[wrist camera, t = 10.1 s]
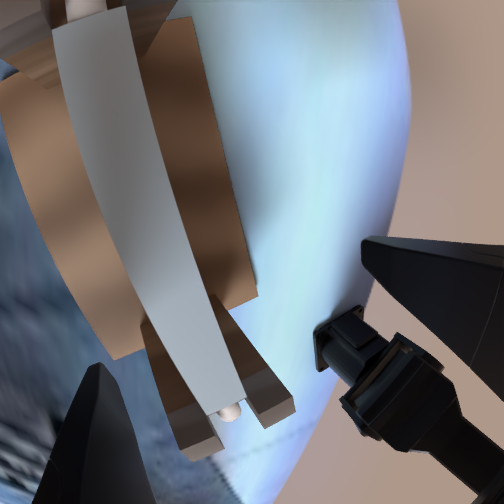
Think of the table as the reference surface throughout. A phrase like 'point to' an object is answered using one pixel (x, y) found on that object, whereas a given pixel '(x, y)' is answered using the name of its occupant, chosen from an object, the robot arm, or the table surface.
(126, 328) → the hinge frame
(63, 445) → the robot arm
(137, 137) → the door
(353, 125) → the table surface
